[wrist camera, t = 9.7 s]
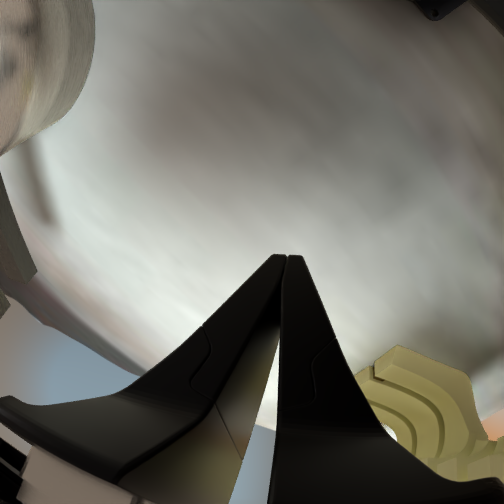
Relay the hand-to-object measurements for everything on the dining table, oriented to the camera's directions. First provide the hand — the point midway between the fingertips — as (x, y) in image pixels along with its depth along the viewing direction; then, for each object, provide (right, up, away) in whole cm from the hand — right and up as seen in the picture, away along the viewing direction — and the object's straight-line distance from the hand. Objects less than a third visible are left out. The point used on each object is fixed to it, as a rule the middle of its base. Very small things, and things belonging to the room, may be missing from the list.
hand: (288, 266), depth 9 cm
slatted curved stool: (+18, -17, +26) cm, 36 cm away
